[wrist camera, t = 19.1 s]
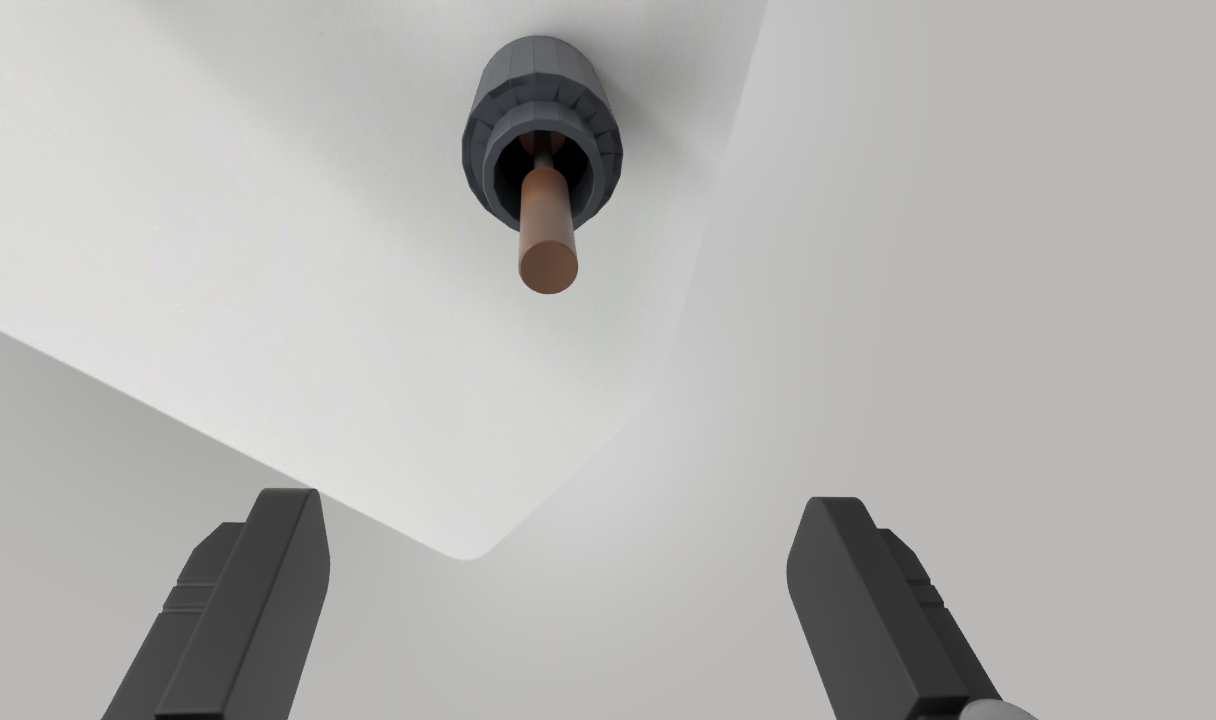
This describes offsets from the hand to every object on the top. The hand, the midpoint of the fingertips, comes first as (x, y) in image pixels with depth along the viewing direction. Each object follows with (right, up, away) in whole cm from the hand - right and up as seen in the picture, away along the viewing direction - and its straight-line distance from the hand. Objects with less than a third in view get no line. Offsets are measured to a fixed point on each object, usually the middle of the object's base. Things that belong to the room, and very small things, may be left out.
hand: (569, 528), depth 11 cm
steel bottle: (-4, +19, +32) cm, 38 cm away
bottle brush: (-4, +19, +32) cm, 37 cm away
